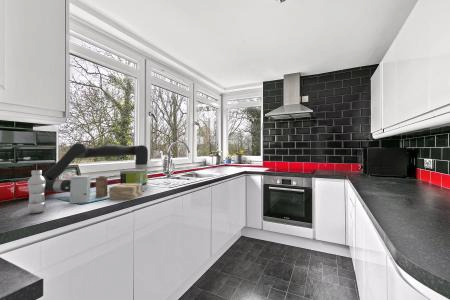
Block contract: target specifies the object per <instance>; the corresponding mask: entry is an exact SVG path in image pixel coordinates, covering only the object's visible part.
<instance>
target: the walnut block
mask: <svg viewBox="0 0 450 300" xmlns="http://www.w3.org/2000/svg"><path fill="white" fill-rule="evenodd" d="M107 196H108V176H105V175H100V176H98V177H96V178H95V198H105V197H107Z"/></svg>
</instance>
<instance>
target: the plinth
mask: <svg viewBox="0 0 450 300" xmlns="http://www.w3.org/2000/svg"><path fill="white" fill-rule="evenodd" d="M108 189H109V190H108V191H109V192H108V193H109V195H108V198H109V200H134V199H136V198H138V197H140V196H142V195H143V191H142V184H140V183H122V184H120V183H119V184H116V185H113V186H110V187H109V188H108Z"/></svg>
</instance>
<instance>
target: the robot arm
mask: <svg viewBox="0 0 450 300" xmlns="http://www.w3.org/2000/svg"><path fill="white" fill-rule="evenodd" d="M125 156H135V168H134V170H146V186H148V161H149V150H148V147H147V146H146V145H144V144H140V145H132V146H131V145H129V146H128V145H120V144H107V145H103V146H99V147H87V146H86V145H85V144H84V143H81V142H77V143H76V142H75V143H74V144H72V146H71V147H70V148H69V149H68V150H67V152H66V153H65V154H64V155H63V156H62V157H61V158H60V159H59V160H58V161H57V162H56V163H55V164H54V165H52V166H51V167H50V168H49V169H48V170H47V171H45V172H44V173H43V177H44V179H45V180H46V183H45V190H44V193H46V192H57V193H59V192H60V193H67V192H68V193H70V186H71V179H60V180H58V178H59V177H60V176H61V175H62V174H64V172H65V171H66V170H67V168H68V167H69V165H71V163H72V162H73V161H74V160H75V159H86V158H87V159H89V158H113V157H114V158H116V157H125ZM94 186H95V187H96V182H90V187H94Z"/></svg>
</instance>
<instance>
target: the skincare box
mask: <svg viewBox="0 0 450 300" xmlns="http://www.w3.org/2000/svg"><path fill="white" fill-rule="evenodd" d="M70 180H71V186H70V192H69V204H80V203H81V204H82V203H88V202H90V200H91V199H90V197H91V196H90V195H91V186H90V183H91V175H72V176H71V177H70Z"/></svg>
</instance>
